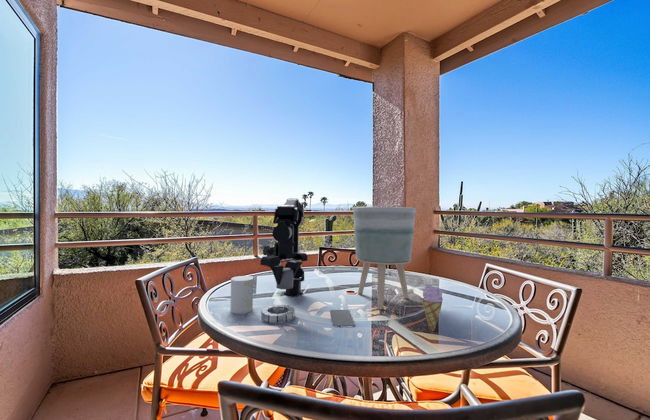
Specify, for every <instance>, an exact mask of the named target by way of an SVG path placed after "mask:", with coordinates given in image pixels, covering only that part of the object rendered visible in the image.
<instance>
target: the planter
mask: <svg viewBox="0 0 650 420" xmlns="http://www.w3.org/2000/svg"><path fill="white" fill-rule="evenodd" d="M352 212H353V215H352V216H353V232H354V247H355V249H354V250H355V259H356V260H357V261H358V262H362V263H363V265H362V268H361V269H362V270H361V275H360V281H359V285H358V290H357V294H358V295H363V293H364V288H365V286H366V282H367V279H368V275H369V270H370V267H371V264H373V265H377V309H378V310H384V302H385V301H384V300H385V283H386V270H387V268H386V267H387V266H390V265H391V266H393V265H395V267H396V271H397V274H398V280H399V282H400V287H401V290H402V295H403V298H404V299H406V300H409V298H410V296H409V291H408V284H407V279H406V273H405V266H404V265H406V264H410V263H411V261H412V254H413V253H412V251H413V240H414V234H415V232H414V230H415V220H416V212H417V211H416V207H408V206H406V207H403V206H402V207H401V206H399V207H398V206H354V207H352Z"/></svg>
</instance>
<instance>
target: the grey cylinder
mask: <svg viewBox="0 0 650 420" xmlns="http://www.w3.org/2000/svg"><path fill="white" fill-rule="evenodd" d="M253 299H254V277H253V276H250V275H239V276H233V277H231V278H230V313H232V314H239V315H240V314H247V313H250V312H252V311H253V309H254V307H253V305H254V303H253V302H254V300H253Z"/></svg>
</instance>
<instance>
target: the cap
mask: <svg viewBox="0 0 650 420" xmlns="http://www.w3.org/2000/svg"><path fill="white" fill-rule="evenodd" d="M284 268H285V267H284ZM284 268H283V272H282V277H281V282H280V284H279V285H278V284H277V283H276V287H275V288H276V289H279V290H286V289H291V288H293V273H294V270H292V269H291V268H285V269H284Z"/></svg>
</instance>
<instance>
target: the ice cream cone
mask: <svg viewBox="0 0 650 420" xmlns="http://www.w3.org/2000/svg"><path fill="white" fill-rule="evenodd" d="M422 296H423V297H422V303H423V310H424V314H425V318H426V322H427V325H428V331H429V332H434V331H436V326H437V323H438V321H439V317H440V313H441V309H442V305H443V300H444V299H443V291H442V290H441V289H440V288H438V287H435V286H432V285H430V284H426V285H425V286H424V290H423V292H422Z"/></svg>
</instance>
